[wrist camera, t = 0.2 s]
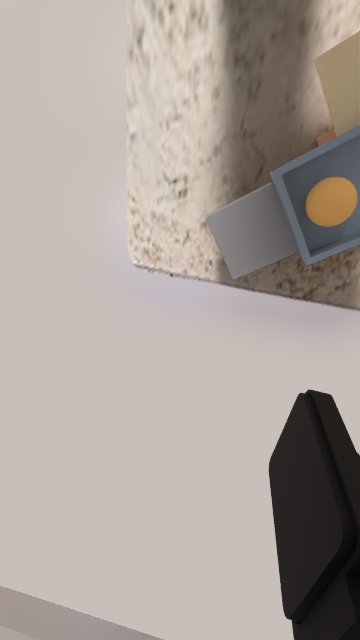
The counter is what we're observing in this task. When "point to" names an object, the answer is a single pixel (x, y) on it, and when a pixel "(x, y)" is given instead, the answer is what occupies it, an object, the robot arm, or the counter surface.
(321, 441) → the robot arm
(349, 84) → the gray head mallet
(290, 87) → the counter surface
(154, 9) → the counter surface
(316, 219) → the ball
